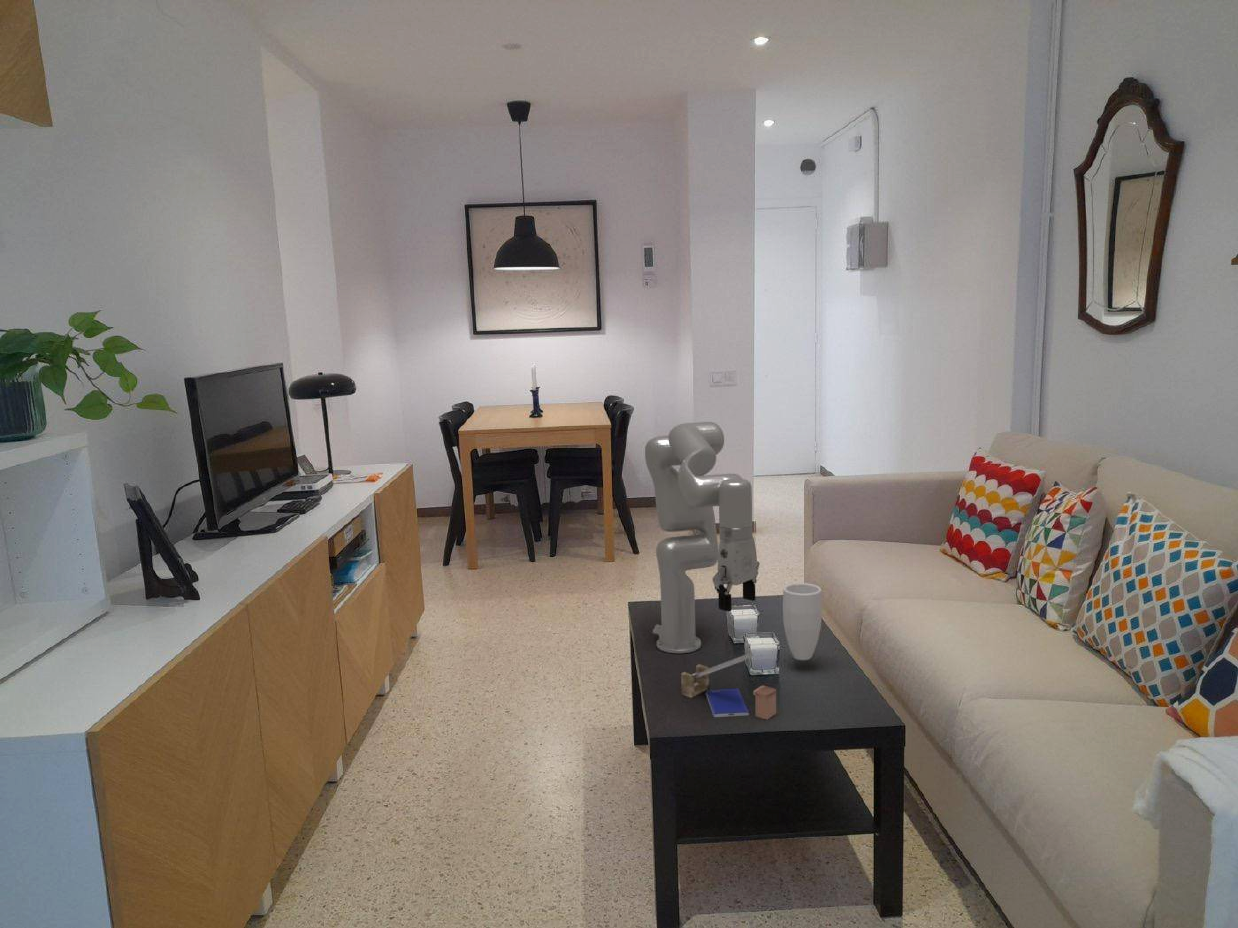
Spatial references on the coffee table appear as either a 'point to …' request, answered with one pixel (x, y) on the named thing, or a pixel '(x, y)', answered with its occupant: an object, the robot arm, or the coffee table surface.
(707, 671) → the grey long flat bar
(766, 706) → the block
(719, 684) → the coffee table surface
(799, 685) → the coffee table surface
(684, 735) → the coffee table surface
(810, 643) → the cup
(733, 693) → the hard drive
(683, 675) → the pivot bracket
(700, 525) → the robot arm
